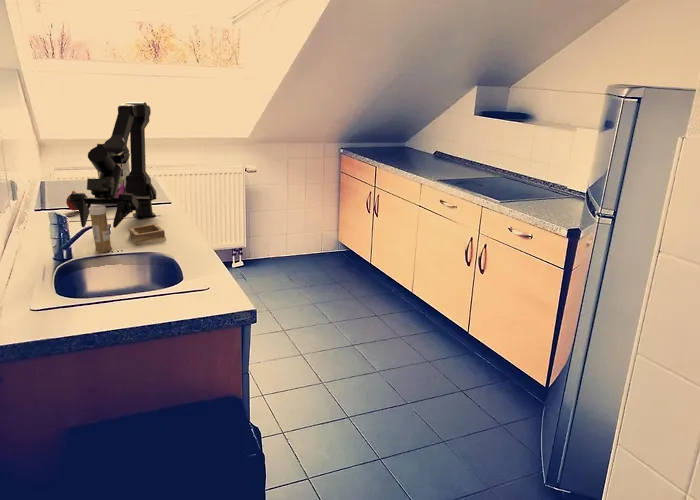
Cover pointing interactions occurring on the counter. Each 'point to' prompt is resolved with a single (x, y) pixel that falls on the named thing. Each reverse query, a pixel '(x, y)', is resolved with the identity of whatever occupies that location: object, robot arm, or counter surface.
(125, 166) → the candy bar box
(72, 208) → the onion
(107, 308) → the counter surface
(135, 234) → the holder
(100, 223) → the sprinkles bottle
